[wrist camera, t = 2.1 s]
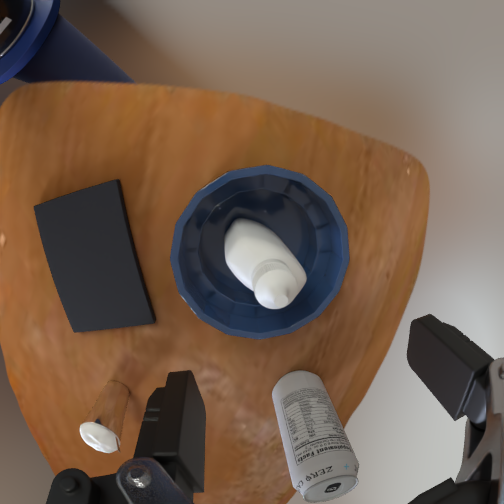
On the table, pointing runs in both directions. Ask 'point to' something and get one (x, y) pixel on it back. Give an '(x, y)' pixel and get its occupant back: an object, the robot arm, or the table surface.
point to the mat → (94, 259)
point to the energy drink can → (313, 438)
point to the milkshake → (106, 418)
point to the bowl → (283, 225)
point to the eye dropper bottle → (263, 263)
